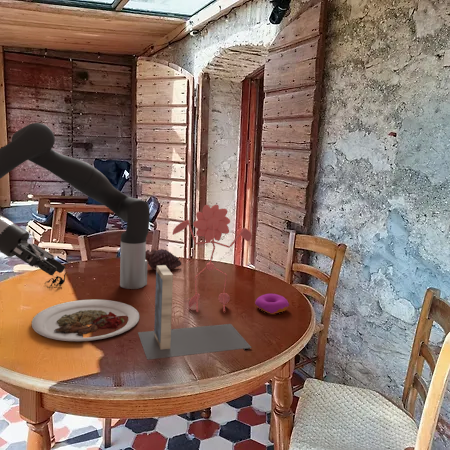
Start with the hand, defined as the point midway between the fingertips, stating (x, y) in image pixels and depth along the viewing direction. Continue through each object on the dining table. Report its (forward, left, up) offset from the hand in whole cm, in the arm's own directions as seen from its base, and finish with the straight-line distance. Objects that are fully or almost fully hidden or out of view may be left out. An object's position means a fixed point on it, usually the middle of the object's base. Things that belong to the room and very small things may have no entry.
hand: (59, 271), depth 106 cm
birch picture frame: (-19, +18, -19) cm, 33 cm away
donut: (-63, +24, -20) cm, 71 cm away
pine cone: (-66, -35, -20) cm, 78 cm away
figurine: (-49, +7, -20) cm, 54 cm away
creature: (-22, -44, -20) cm, 53 cm away
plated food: (-13, -7, -20) cm, 25 cm away
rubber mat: (-26, +23, -20) cm, 40 cm away
